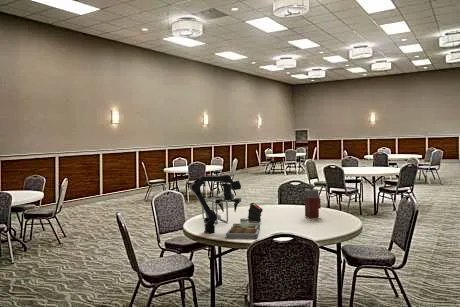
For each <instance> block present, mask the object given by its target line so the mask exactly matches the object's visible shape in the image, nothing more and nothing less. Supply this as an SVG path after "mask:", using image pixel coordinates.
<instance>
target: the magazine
mask: <svg viewBox="0 0 460 307" xmlns="http://www.w3.org/2000/svg"><path fill="white" fill-rule="evenodd" d="M247 211H248V214H247V215H248V216H247V219H248V222H253V223H254V222H255V223H260V222H261V220H262V218H261V216H262V212H264V210H263V208H262V207H261V206H259V205H257V204H256V203H255V202H250V203H249V208H248V210H247Z"/></svg>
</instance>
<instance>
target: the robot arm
mask: <svg viewBox="0 0 460 307" xmlns="http://www.w3.org/2000/svg"><path fill="white" fill-rule="evenodd" d="M205 182H221V184H220V187H222V190H223V198H221V197H219V198H218V199H214V201H215V203H216V204H217V206H218V207H219V209H220V210H221V211H222V213H224V212H225V211H224V210H225V209H224V203H226V202H227V203H231V202H232V203H233V208H234V213H236V211H237V207H238V205H239V204H240V203H241V202H242V198H241V197H235V195H234V194H233V191H237V190H238V191H239V190H241V188H242V184H241V182H240V180H234V179H232V177H231V175H229V174H226V173H223V174H219V175H201V176H199V177H198V178H196V179H195V181H193V182H191V183H190V184H189V186H188V188H189V190H190V191H191V192H192V193H193V195H194V196H195V197H196V199H197V201H199V204H200V206H201V208H202V207H203V209H204V215H205V217H204V218H205V219H204V218H203V223H204V231H203V232H204V233H205V234H213V233H216V232H215V231H216V229H215V228H216V226H215V222H216V219H217V217H216V216H217V215H216V214H215V213H216V211H215V210H214V211H213V210H212V209H211V207H209V206H210V205H209V204H208V203H207V200H205V199H204V198H205V197H204V196H203V194H202V190H201V187H202V185H203V184H204V183H205ZM234 197H235V198H234ZM216 204H215V205H216ZM217 220H218V219H217Z"/></svg>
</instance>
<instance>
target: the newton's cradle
mask: <svg viewBox="0 0 460 307" xmlns="http://www.w3.org/2000/svg"><path fill="white" fill-rule="evenodd" d="M203 198H204V199H205V201H206V202H208V203H210V204H209V205H208V206H209V208H210V209H211V210H213V211H215V214H216V215H217V216H216V217H217V219H216V221H215V223H214V225H217V224H218V223H219V224H224V223H229V222H228V221H229V209H228V207H229V206H228V203H229V202H225V206H226V207H225V208H226V211H225V212H226V220H224V219H223V218H222V216H221V215H220V214H219V213H220V210H218V205H217V204H216V203H215V200H216V199H218V198H217V197H214V196H211V199H210V198H209V197H203ZM214 207H215V208H214ZM201 212H202V214H201V215H202V218H203V220H204V219H205V218H206V217H205V216H204V215H205V211H204V209H203V207H202V206H201ZM218 221H220V222H218Z"/></svg>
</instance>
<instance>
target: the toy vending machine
mask: <svg viewBox="0 0 460 307" xmlns="http://www.w3.org/2000/svg"><path fill="white" fill-rule="evenodd" d="M308 187H309V188H305V189H304V217H305V216H306V217H305V218H307V217H308V218H307V219H318V217H319V218H320V209H322V208H321V197H320V196H319V189H317V188H314V187H315V186H314V184H313V183H309V185H308Z"/></svg>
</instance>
